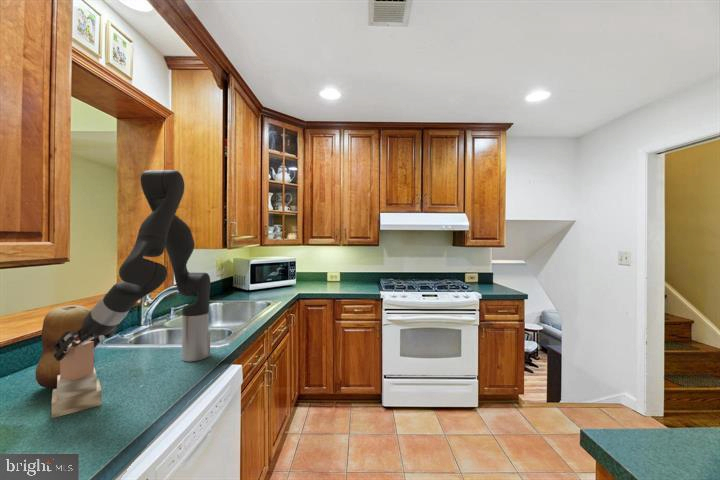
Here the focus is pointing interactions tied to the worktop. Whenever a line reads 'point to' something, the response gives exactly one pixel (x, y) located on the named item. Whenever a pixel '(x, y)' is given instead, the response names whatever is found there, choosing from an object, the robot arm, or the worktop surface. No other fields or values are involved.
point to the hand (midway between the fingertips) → (74, 352)
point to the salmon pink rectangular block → (78, 362)
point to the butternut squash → (52, 331)
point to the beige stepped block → (75, 395)
